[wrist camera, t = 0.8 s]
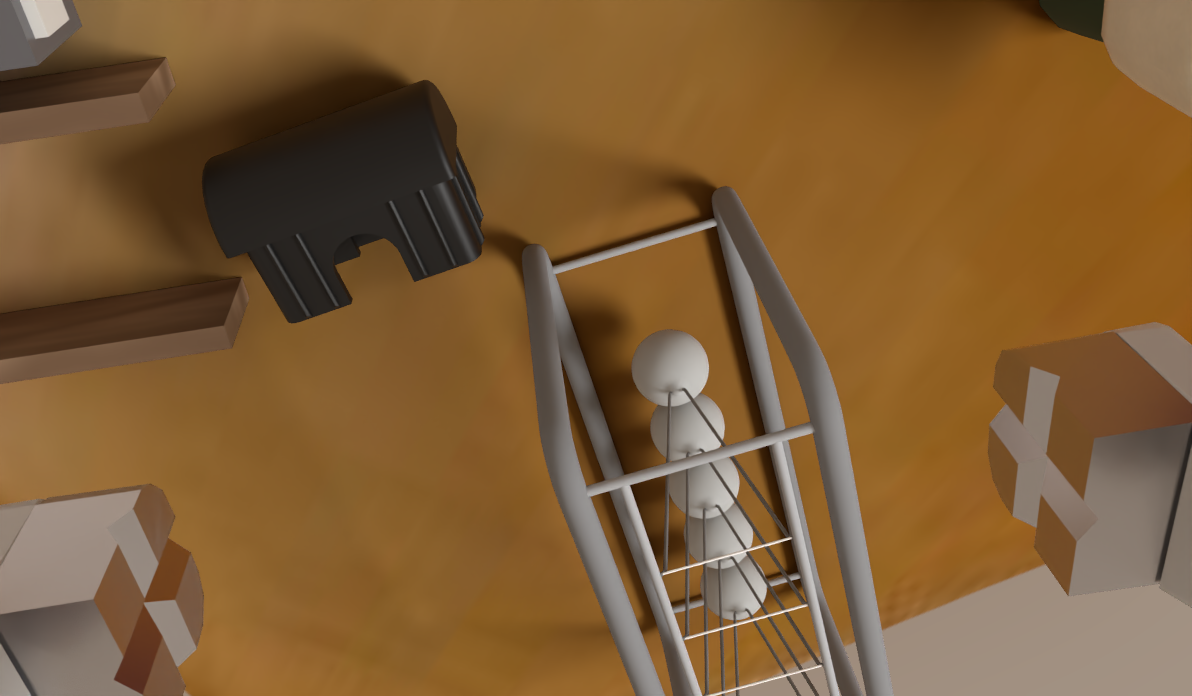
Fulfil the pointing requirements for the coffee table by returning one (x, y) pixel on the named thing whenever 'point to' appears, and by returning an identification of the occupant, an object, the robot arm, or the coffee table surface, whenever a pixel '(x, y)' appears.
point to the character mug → (1138, 40)
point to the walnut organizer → (118, 322)
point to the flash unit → (34, 30)
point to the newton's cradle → (706, 471)
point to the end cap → (347, 197)
